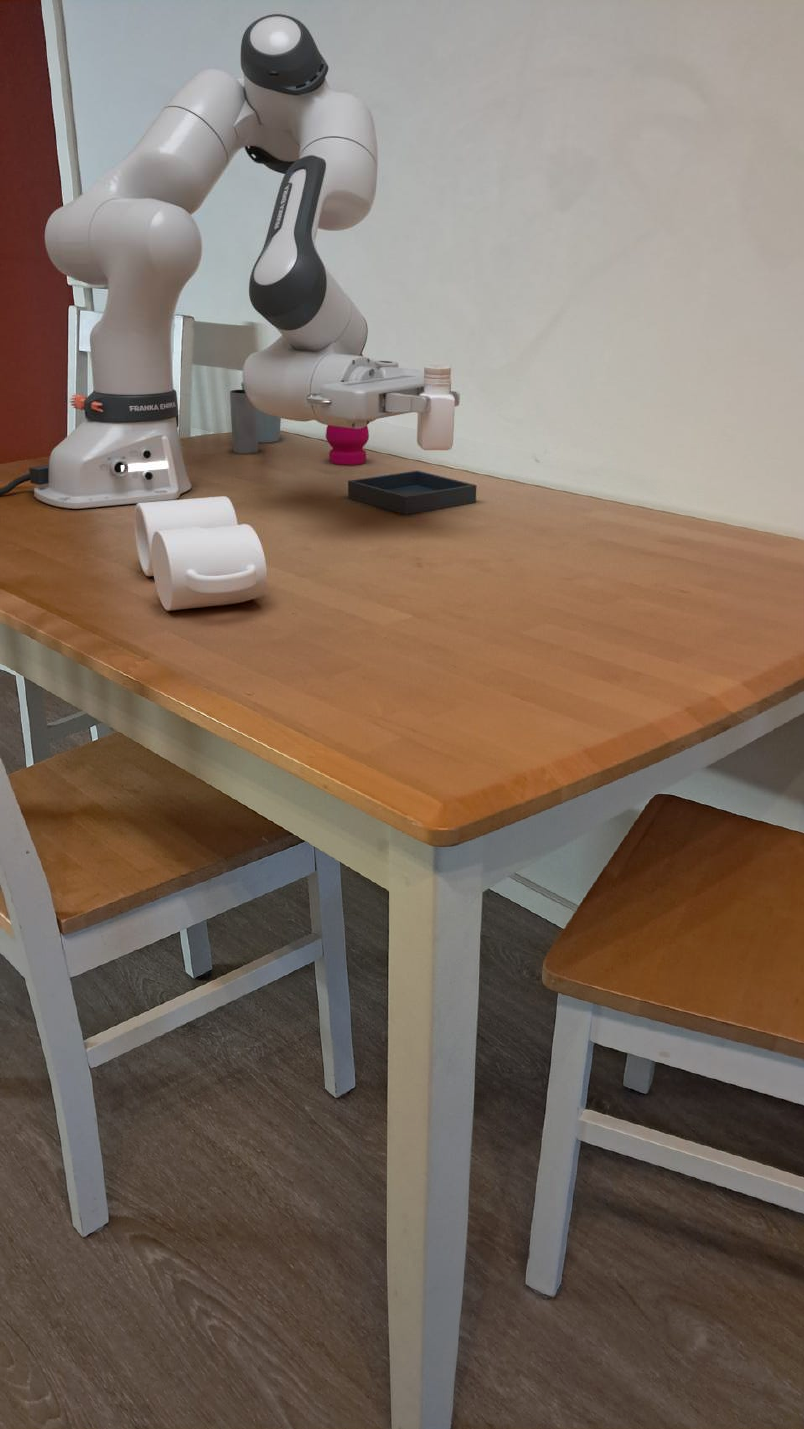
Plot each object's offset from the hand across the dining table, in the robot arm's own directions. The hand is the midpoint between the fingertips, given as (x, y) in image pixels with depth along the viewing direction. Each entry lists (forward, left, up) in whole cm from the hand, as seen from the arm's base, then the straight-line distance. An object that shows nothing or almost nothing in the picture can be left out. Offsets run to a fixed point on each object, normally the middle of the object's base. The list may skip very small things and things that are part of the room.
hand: (442, 402), depth 128 cm
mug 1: (-31, +8, -17) cm, 37 cm away
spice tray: (+12, +19, -17) cm, 28 cm away
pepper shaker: (0, +1, -6) cm, 6 cm away
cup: (+22, +74, -17) cm, 79 cm away
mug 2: (-36, -7, -17) cm, 41 cm away
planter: (+13, +66, -17) cm, 70 cm away
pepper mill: (+22, +48, -17) cm, 55 cm away
